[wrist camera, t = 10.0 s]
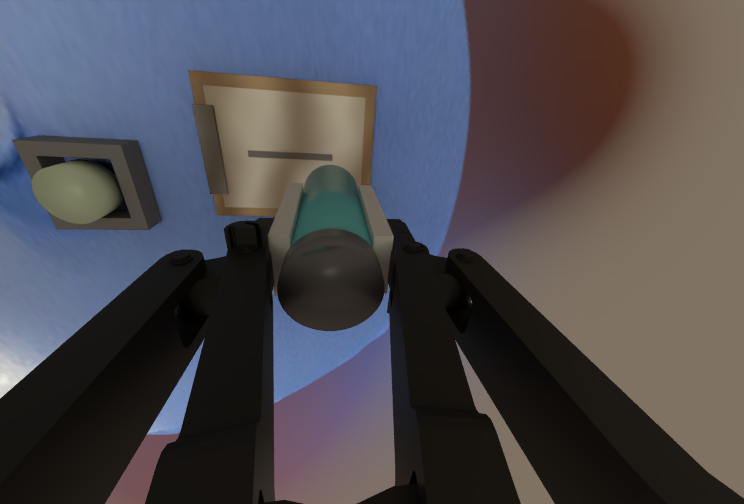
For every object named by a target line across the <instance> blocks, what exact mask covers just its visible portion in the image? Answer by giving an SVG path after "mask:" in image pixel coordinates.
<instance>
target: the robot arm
mask: <svg viewBox="0 0 744 504" xmlns="http://www.w3.org/2000/svg"><path fill="white" fill-rule="evenodd" d="M358 195H359V199H360V203H361V206H362V210H363V214H364V217H365V221H366V225H367V228H368V232H369V236H370V239H371V243H372V247H373V249H374V251H375V253H376V255H377V257H378V260H379V263H380V267H381V271H382V274H383V278H384V283H385V291H384V293H387V288H388V284H389V287H390V294H389V302H388V310H387V313H389V316H390V339H391V340H390V342H391V366H392V367H391V368H392V394H393V420H394V446H395V486H393V487H391V488H389V489H387V490H385V491H383V492H380V493H378V494H376V495H375V496H372V497H370V498H368V499H366V500H364V501H362V502H360V503H357V504H521V503H520V500H519V498H518V495H517V492H516V489H515V486H514V483H513V480H512V477H511V474H510V471H509V468H508V465H507V462H506V459H505V456H504V453H503V450H502V447H501V444H500V441H499V438H498V435H497V433H496V430H495V427H494V425H493V423H492V421H491V419H490V418H489V417H488V416H487V415H486V414H481V413H479V412H478V411H477V410H476V407H475V405H474V402H473V398H472V395H471V392H470V388H469V385H468V382H467V378H466V375H465V372H464V368H463V365H462V361H461V358H460V355H459V351H458V348H457V345H456V342H457V343H458V345H459V346H460V348H461V350H462V352H463V353H464V355H465V356H466V358H467V360H468V361H469V363H470V365H471V366H472V368H473V370H474V371H475V373H476V375H477V376H478V378H479V379H480V381H481V383H482V384H483V386H484V388H485V389H486V391H487V393H488V394H489V396H490V398H491V399H492V401H493V403H494V404H495V406H496V408H497V409H498V411H499V412H500V414H501V416H502V417H503V419H504V420H505V422H506V424H507V426H508V427H509V429H510V431H511V432H512V434H513V435H514V437H515V439H516V440H517V442H518V444H519V445H520V447H521V449H522V450H523V452H524V454H525V455H526V457H527V459H528V460H529V462H530V463H531V465H532V467H533V468H534V470H535V471H536V473H537V475H538V477H539V478H540V480H541V482H542V483H543V485H544V487H545V488H546V490H547V492H548V493H549V495H550V496H551V498H552V500H553V501H554V503H555V504H744V498H742V497H741V496H739V495H738V494H737V493H735V492H734V491H733V490H731V489H730V488H728V487H727V486H726V485H724V484H723V483H722V482H720V481H719V480H718V479H716V478H715V477H713V476H712V475H711V474H709V473H708V472H707V471H706V470H705V469H703V467H701V466H700V465H699V464H698V463H697V462H696V461H695V460H694V459H693V458H692V457H691V456H690V455H689V454H688V453H687V452H686V451H685V450H684V449H683V448H681V446H680V445H678V444H677V443H676V442H675V441H674V440H673V439H672V438H671V437H670V436H669V435H668V434H667V433H666V432H665V431H664V430H663V429H662V428H661V427H660V426H659V425H658V424H656V423H655V422H654V421H653V420H652V419H651V418H650V417H649V416H648V415H647V414H646V413H645V412H644V411H643V410H642V409H641V408H639V406H638V405H637V404H635V403H634V402H633V401H632V400H631V399H630V398H629V397H628V396H627V395H626V394H625V393H624V392H623V391H622V390H621V389H620V388H619V387H618V386H617V385H615V384H614V383H613V382H612V381H611V380H610V379H609V378H608V377H607V376H606V375H605V374H604V373H603V372H602V371H601V370H600V369H599V368H598V367H597V366H596V365H595V364H594V363H592V362H591V361H590V360H589V359H588V358H587V357H586V356H585V355H584V354H583V353H582V352H581V351H580V350H579V349H578V348H577V347H576V346H575V345H574V344H572V343H571V342H570V341H569V340H568V339H567V338H566V337H565V336H564V335H563V334H562V333H561V332H560V331H559V330H558V329H557V328H556V327H555V326H554V325H553V324H552V323H550V322H549V321H548V320H547V319H546V318H545V317H544V316H543V315H542V314H541V313H540V312H539V311H538V310H537V309H536V308H535V307H534V306H533V305H532V304H531V303H529V302H528V301H527V300H526V299H525V298H524V297H523V296H522V295H521V294H520V293H519V292H518V291H517V290H516V289H515V288H514V287H513V286H512V285H511V284H509V282H507V281H506V280H505V279H504V278H503V277H502V276H501V275H500V274H499V273H498V272H497V271H496V270H495V269H494V268H493V267H492V266H491V265H489V263H488V262H487V261H485V260H484V259H483V258H482V257H481V256H480V255H478V254H477V253H475V252H473V251H471V250H469V249H464V248H462V249H452V250H451V251H449V254H448V258H444V257H438V256H434V255H430V254H429V250H428V248H427V247H426V246H425V245H423V244H422V243H419V242H416V241H415V240H414V238H413V236H412V234H411V233H410V231H409V229H408V227H407V225H406V224H405V223H404V222H402V221H401V220H399V219H386V217H385V215H384V213H383V210H382V208H381V206H380V203H379V201H378V199H377V197H376V194H375V192H374V190H373V187H372V185H359V186H358ZM302 197H303V183H289V184H288V186H287V189H286V191H285V194H284V196H283V199H282V201H281V204H280V206H279V209H278V211H277V214H276V216H275V218H259V219H257V220H256V221H239V222H235V223H231V224H229V225H227V226H226V227H225V228H224V233H225V238H226V243H227V248H228V251H227V255H226V256H224V257H220V258H215V259H209V260H204V257H203V254H202V253H201V252H199V251H197V250H179V251H174V252H172V253H170V254H167V255H165V256H164V257H162V258H160V259H159V260H158V261H157V262H156V263H155V264H154V265H152V266H151V267H150V268H149V269H148V270H147V271H146V272H144V273H143V274H142V275H141V276H140V277H139V278H138V279H136V280H135V281H134V282H133V283H132V284H131V285H130V286H128V287H127V288H126V289H125V290H124V291H123V292H122V293H120V294H119V295H118V296H117V297H116V298H115V299H114V300H112V301H111V302H110V303H109V304H108V305H107V306H106V307H104V308H103V309H102V310H101V311H100V312H99V313H98V314H96V315H95V316H94V317H93V318H92V319H91V320H90V321H88V322H87V323H86V324H85V325H84V326H83V327H82V328H80V329H79V330H78V331H77V332H76V333H75V334H74V335H72V336H71V337H70V338H69V339H68V340H67V341H66V342H64V343H63V344H62V345H61V346H60V347H59V348H58V349H56V350H55V351H54V352H53V353H52V354H51V355H50V356H48V357H47V358H46V359H45V360H44V361H43V362H42V363H40V364H39V365H38V366H37V367H36V368H35V369H34V370H32V371H31V372H30V373H29V374H28V375H27V376H26V377H24V378H23V379H22V380H21V381H20V382H19V383H18V384H16V385H15V386H14V387H13V388H12V389H11V390H10V391H8V392H7V393H6V394H5V395H4V396H3V397H2V398H0V504H105V503H106V501H107V499H108V497H109V496H110V494H111V492H112V491H113V489H114V487H115V486H116V484H117V483H118V481H119V479H120V478H121V476H122V474H123V473H124V471H125V469H126V468H127V466H128V464H129V463H130V461H131V459H132V457H133V456H134V454H135V453H136V451H137V449H138V448H139V446H140V444H141V443H142V441H143V439H144V438H145V436H146V434H147V433H148V431H149V429H150V428H151V426H152V424H153V423H154V421H155V420H156V418H157V416H158V415H159V413H160V411H161V410H162V408H163V406H164V405H165V403H166V401H167V400H168V398H169V396H170V395H171V393H172V391H173V390H174V388H175V386H176V385H177V383H178V381H179V380H180V378H181V376H182V375H183V373H184V371H185V370H186V368H187V366H188V365H189V363H190V361H191V360H192V358H193V356H194V355H195V353H196V351H197V350H198V348H199V346H200V345H201V343H202V342H203V340H204V338H205V340H204V343H203V347H202V351H201V355H200V359H199V363H198V367H197V370H196V374H195V378H194V382H193V386H192V390H191V393H190V397H189V401H188V405H187V409H186V413H185V416H184V420H183V424H182V428H181V431H180V434H179V437H178V439H177V440H176V441H175V442H172V443H169V444H167V445H166V447H165V448H164V449H163V451H162V452H161V455H160V458H159V460H158V463H157V465H156V469H155V472H154V476H153V479H152V482H151V485H150V489H149V492H148V495H147V499H146V502H145V504H302V503H296V502H292V501H287V500H280V501H275V493H274V380H273V298H272V290H273V287H274V293H275V296H278V294H277V284H278V279H279V275H280V272H281V268H282V264H283V261H284V257H285V255H286V253H287V251H288V250H289V248H290V247H291V243H292V239H293V235H294V230H295V226H296V222H297V218H298V214H299V209H300V205H301V201H302ZM471 300H472V303H471ZM455 340H456V341H455Z"/></svg>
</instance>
